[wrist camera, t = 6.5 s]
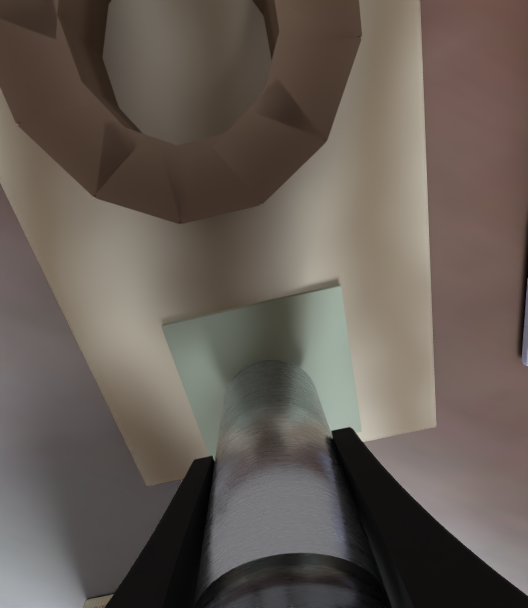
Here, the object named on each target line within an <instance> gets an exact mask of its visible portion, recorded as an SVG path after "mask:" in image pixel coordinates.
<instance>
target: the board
mask: <svg viewBox="0 0 528 608" xmlns="http://www.w3.org/2000/svg"><path fill="white" fill-rule="evenodd" d="M0 184H1V186H2V188H3V190H4V192H5V194H6V196H7V198H8V200H9V202H10V204H11V206H12V208H13V211H14V213H15V215H16V217H17V219H18V221H19V223H20V225H21V227H22V229H23V231H24V233H25V235H26V237H27V240H28V242H29V244H30V246H31V248H32V250H33V252H34V254H35V256H36V258H37V260H38V262H39V264H40V266H41V269H42V271H43V273H44V275H45V277H46V279H47V281H48V283H49V285H50V287H51V289H52V291H53V293H54V296H55V298H56V300H57V302H58V304H59V306H60V308H61V310H62V312H63V314H64V316H65V318H66V320H67V322H68V325H69V327H70V329H71V331H72V333H73V335H74V337H75V339H76V341H77V343H78V345H79V347H80V349H81V351H82V354H83V356H84V358H85V360H86V362H87V364H88V366H89V368H90V370H91V372H92V374H93V376H94V378H95V381H96V383H97V385H98V387H99V389H100V391H101V393H102V395H103V397H104V399H105V401H106V403H107V405H108V407H109V410H110V412H111V414H112V416H113V418H114V420H115V422H116V424H117V426H118V428H119V430H120V432H121V434H122V437H123V439H124V441H125V443H126V445H127V447H128V449H129V451H130V453H131V455H132V457H133V459H134V461H135V463H136V466H137V468H138V470H139V472H140V474H141V476H142V478H143V480H144V482H145V484H146V486H152V485H157V484H162V483H167V482H172V481H176V480H181V479H184V477H185V475H186V473H187V471H188V470H189V468H190V466H191V464H192V462H193V461H194V459H199V458H203V457H208V456H213V459H214V461H215V456H216V449H217V443H218V436H219V429H220V422H221V415H222V409H223V402H224V395H225V391H226V388H227V386H228V384H229V382H230V380H231V379H232V378H233V376H234V375H235V374H236V373H237V372H238V371H240V370H241V369H242V368H244V367H246V366H247V365H249V364H252V363H254V362H258V361H262V360H282V361H287V362H290V363H292V364H294V365H296V366H298V367H300V368H301V369H303V370H304V371H305V372H306V373H307V374H308V375H309V376H310V378H311V379H312V381H313V383H314V385H315V387H316V390H317V393H318V396H319V399H320V402H321V405H322V407H323V410H324V413H325V416H326V419H327V422H328V425H329V428H330V430H331V431H333V430H337V429H342V428H347V427H351V428H352V429H354V431H355V432H356V434H357V435H358V436H359V438H360V439H361V440H362V442H365V441H370V440H374V439H379V438H384V437H389V436H394V435H398V434H403V433H408V432H413V431H418V430H423V429H427V428H432V427H436V407H435V381H434V355H433V329H432V302H431V276H430V250H429V224H428V197H427V171H426V145H425V119H424V93H423V66H422V40H421V14H420V0H0Z"/></svg>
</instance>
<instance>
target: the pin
mask: <svg viewBox="0 0 528 608" xmlns="http://www.w3.org/2000/svg"><path fill="white" fill-rule="evenodd" d="M193 608H392V606H391V603H390V600H389V597H388V594H387V591H386V588H385V586H384V583H383V580H382V577H381V574H380V571H379V568H378V565H377V563H376V560H375V557H374V554H373V551H372V548H371V545H370V542H369V540H368V537H367V534H366V531H365V528H364V525H363V522H362V519H361V517H360V514H359V511H358V508H357V505H356V502H355V499H354V497H353V494H352V491H351V488H350V486H349V483H348V480H347V478H346V475H345V472H344V470H343V467H342V465H341V462H340V459H339V456H338V453H337V450H336V447H335V444H334V441H333V439H332V433H331V430H330V428H329V425H328V422H327V419H326V416H325V413H324V410H323V407H322V405H321V402H320V399H319V396H318V393H317V390H316V387H315V385H314V383H313V381H312V379H311V378H310V376H309V375H308V374H307V373H306V372H305V371H304V370H303V369H301V368H300V367H298V366H296V365H294V364H292V363H290V362H287V361H282V360H262V361H258V362H254V363H252V364H249V365H247V366H246V367H244V368H242V369H241V370H240V371H238V372H237V373H236V374H235V375H234V376H233V378H232V379H231V380H230V382H229V384H228V386H227V388H226V391H225V395H224V402H223V409H222V415H221V422H220V429H219V436H218V443H217V449H216V456H215V463H214V470H213V476H212V483H211V490H210V497H209V504H208V510H207V517H206V524H205V531H204V538H203V544H202V551H201V558H200V565H199V571H198V578H197V585H196V592H195V599H194V605H193Z"/></svg>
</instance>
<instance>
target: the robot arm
mask: <svg viewBox="0 0 528 608" xmlns="http://www.w3.org/2000/svg"><path fill="white" fill-rule="evenodd" d="M522 363H523V364H524V365H526V366H528V280H527V294H526V307H525V321H524V334H523V348H522ZM331 433H332V439H333V441H334V444H335V447H336V450H337V453H338V456H339V459H340V462H341V465H342V467H343V470H344V472H345V475H346V478H347V480H348V483H349V486H350V488H351V491H352V494H353V497H354V499H355V502H356V505H357V508H358V511H359V514H360V517H361V519H362V522H363V525H364V528H365V531H366V534H367V537H368V540H369V542H370V545H371V548H372V551H373V554H374V557H375V560H376V563H377V565H378V568H379V571H380V574H381V577H382V580H383V583H384V586H385V588H386V591H387V594H388V597H389V600H390V603H391V606H392V608H528V596H527V595H526V594H524V593H523V592H522V591H520V590H519V589H518V588H517V587H515V586H514V585H513V584H511V583H510V582H509V581H508V580H506V579H505V578H504V577H502V576H501V575H500V574H498V573H497V572H496V571H495V570H493V569H492V568H491V567H490V566H488V565H487V564H486V563H485V562H484V561H482V560H481V559H480V558H479V557H478V556H476V555H475V554H474V553H473V552H472V551H471V550H469V549H468V548H467V547H466V546H465V545H463V544H462V543H461V542H460V541H459V540H458V539H457V538H455V537H454V536H453V535H452V534H451V533H450V532H449V531H447V530H446V529H445V528H444V527H443V526H442V525H441V524H440V523H439V522H438V521H436V520H435V519H434V518H433V517H432V516H431V515H430V514H429V513H428V512H427V511H426V510H425V509H424V508H423V507H422V506H421V505H420V504H419V503H418V502H417V501H416V500H415V499H414V498H413V497H412V496H411V495H410V494H409V493H408V492H407V491H406V490H405V489H404V488H403V487H402V486H401V485H400V484H399V483H398V482H397V481H396V480H395V479H394V478H393V477H392V476H391V474H390V473H389V472H388V471H387V470H386V469H385V468H384V467H383V466H382V465H381V463H380V462H379V461H378V460H377V459H376V458H375V456H374V455H373V454H372V453H371V452H370V451H369V449H368V448H367V447H366V446H365V444H364V443H363V442H362V440H361V439H360V438H359V436H358V435H357V434H356V432H355V431H354V429H352V428H351V427H347V428H342V429H337V430H333V431H331ZM214 463H215V461H214V459H213V456H208V457H203V458H199V459H194V461H193V462H192V464H191V466H190V468H189V470H188V471H187V473H186V475H185V477H184V479H183V481H182V483H181V485H180V486H179V488H178V490H177V492H176V494H175V496H174V497H173V499H172V501H171V503H170V505H169V506H168V508H167V510H166V512H165V513H164V515H163V517H162V519H161V520H160V522H159V524H158V526H157V527H156V529H155V531H154V532H153V534H152V536H151V537H150V539H149V541H148V542H147V544H146V545H145V547H144V549H143V550H142V552H141V553H140V555H139V557H138V558H137V560H136V561H135V563H134V565H133V566H132V568H131V569H130V571H129V572H128V574H127V575H126V577H125V578H124V580H123V581H122V583H121V584H120V586H119V587H118V589H117V590H116V592H115V593H114V595H113V596H112V597H111V599H110V600H109V602H108V603H107V605H106V606H105V607H104V608H193V605H194V599H195V592H196V585H197V578H198V571H199V565H200V558H201V551H202V544H203V538H204V531H205V524H206V517H207V510H208V504H209V497H210V490H211V483H212V476H213V470H214Z"/></svg>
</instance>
